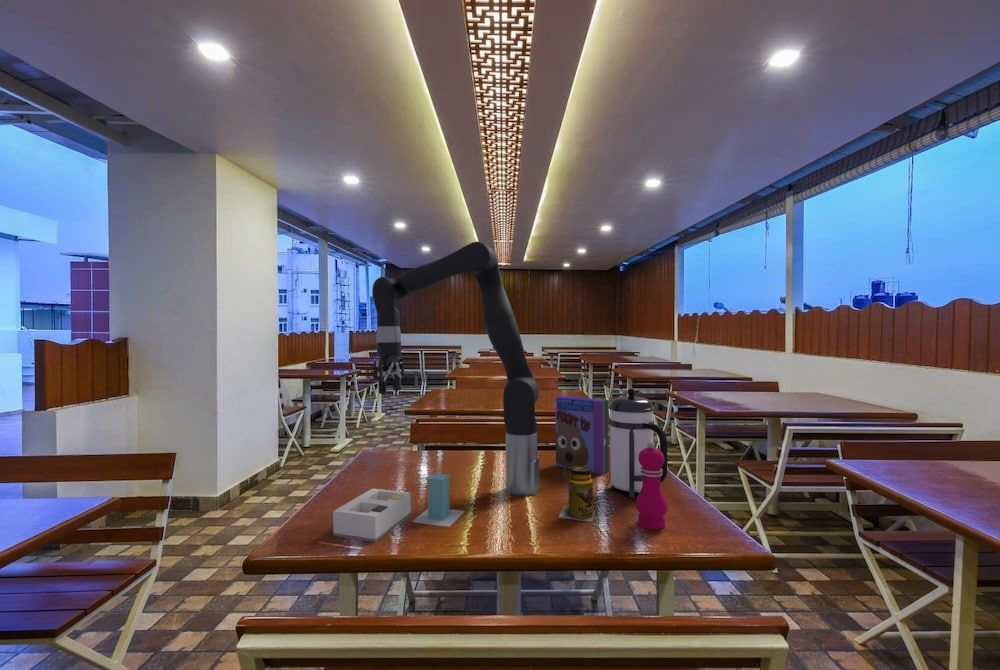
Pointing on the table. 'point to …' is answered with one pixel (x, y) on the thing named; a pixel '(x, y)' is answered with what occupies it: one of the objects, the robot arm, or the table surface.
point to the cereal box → (582, 433)
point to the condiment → (579, 495)
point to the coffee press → (632, 441)
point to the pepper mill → (651, 489)
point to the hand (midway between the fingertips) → (390, 392)
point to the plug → (438, 497)
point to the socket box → (371, 514)
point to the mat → (446, 522)
